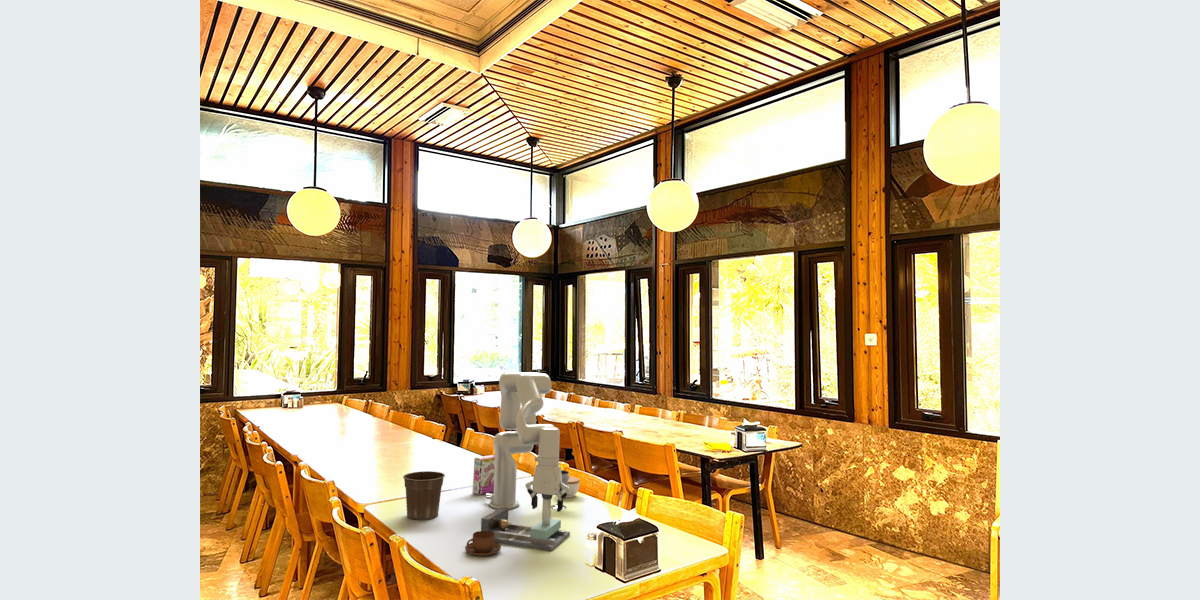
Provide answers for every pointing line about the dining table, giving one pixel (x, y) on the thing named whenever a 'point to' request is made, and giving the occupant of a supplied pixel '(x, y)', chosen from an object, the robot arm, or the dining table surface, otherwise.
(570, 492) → the lidded jar
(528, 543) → the press base
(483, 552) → the cup and saucer
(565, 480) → the wine glass
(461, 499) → the dining table surface
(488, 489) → the candy bar box
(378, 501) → the dining table surface
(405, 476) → the plant pot
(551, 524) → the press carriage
